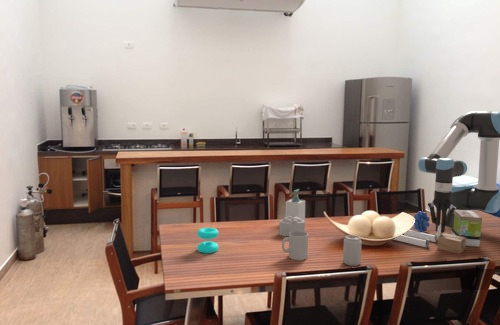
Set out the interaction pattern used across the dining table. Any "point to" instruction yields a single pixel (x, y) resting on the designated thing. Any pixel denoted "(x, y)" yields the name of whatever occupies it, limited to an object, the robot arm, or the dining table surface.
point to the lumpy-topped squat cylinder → (291, 225)
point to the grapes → (421, 221)
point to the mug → (297, 245)
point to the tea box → (467, 226)
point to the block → (451, 243)
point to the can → (352, 250)
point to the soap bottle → (295, 207)
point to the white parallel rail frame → (417, 241)
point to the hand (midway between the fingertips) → (439, 238)
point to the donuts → (207, 245)
